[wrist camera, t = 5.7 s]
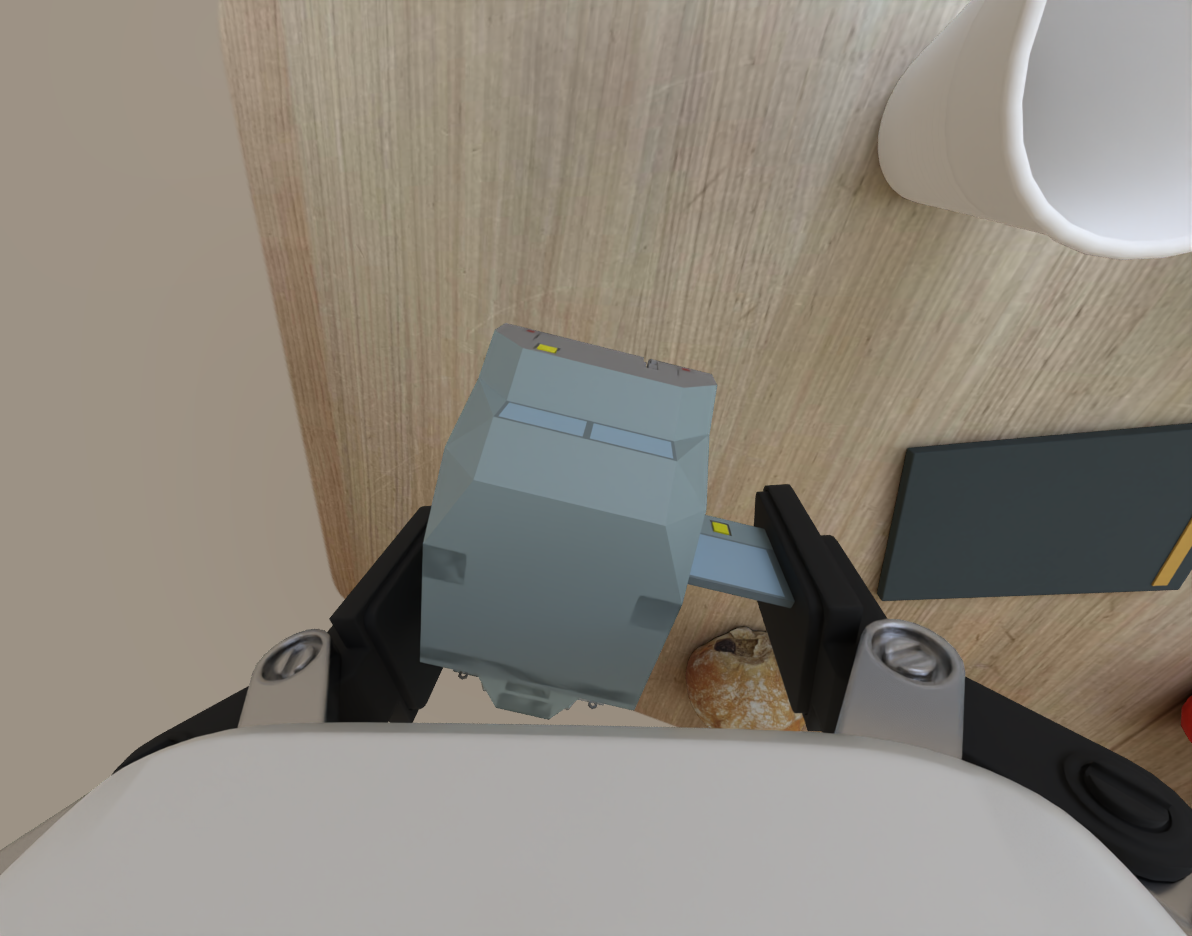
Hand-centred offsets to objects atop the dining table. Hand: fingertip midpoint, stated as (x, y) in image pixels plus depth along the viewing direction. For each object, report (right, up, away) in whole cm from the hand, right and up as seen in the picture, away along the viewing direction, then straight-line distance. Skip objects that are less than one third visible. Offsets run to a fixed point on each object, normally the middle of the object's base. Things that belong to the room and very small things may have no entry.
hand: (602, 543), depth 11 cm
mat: (+28, -1, +16) cm, 33 cm away
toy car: (0, +1, +1) cm, 1 cm away
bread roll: (+13, -15, +25) cm, 32 cm away
